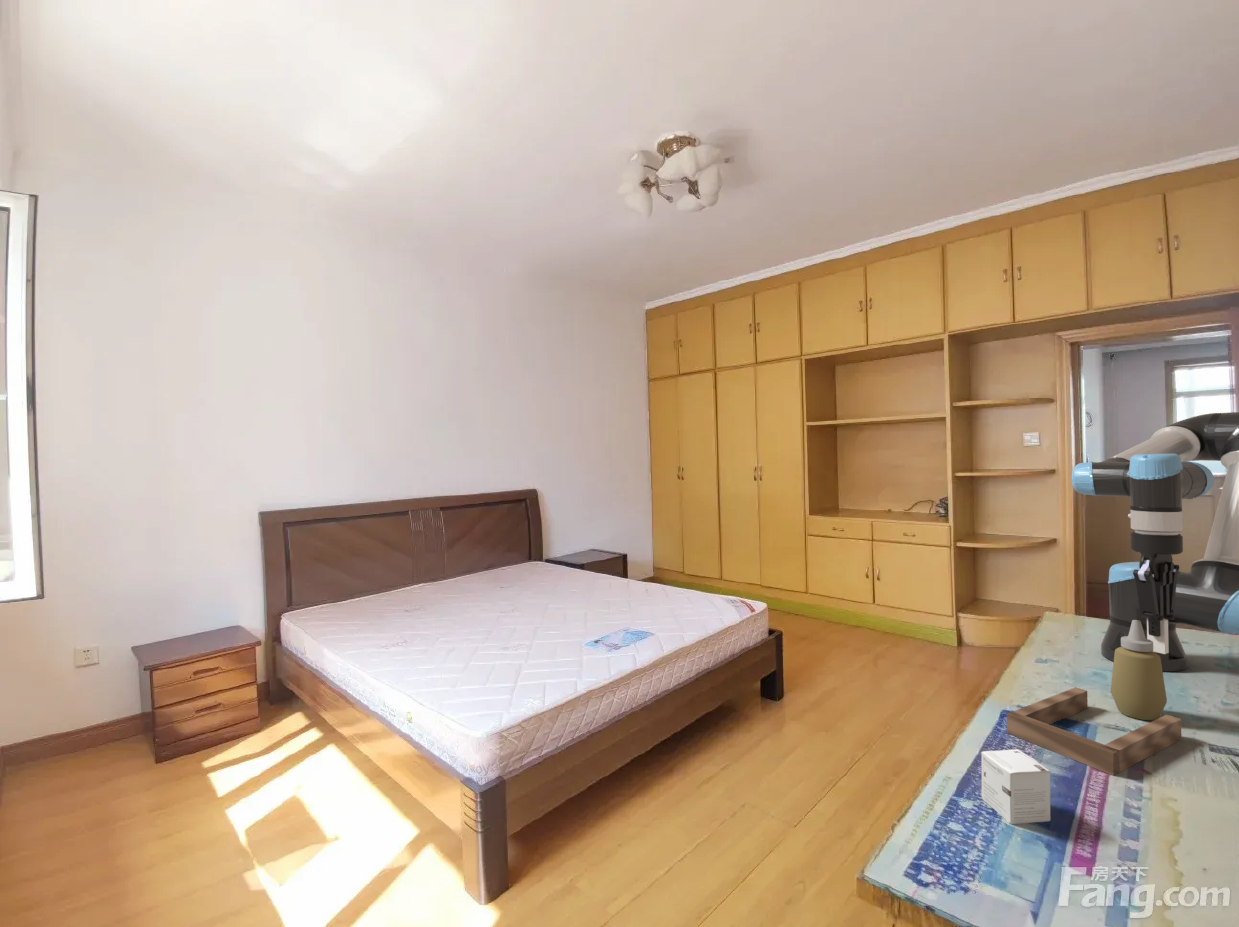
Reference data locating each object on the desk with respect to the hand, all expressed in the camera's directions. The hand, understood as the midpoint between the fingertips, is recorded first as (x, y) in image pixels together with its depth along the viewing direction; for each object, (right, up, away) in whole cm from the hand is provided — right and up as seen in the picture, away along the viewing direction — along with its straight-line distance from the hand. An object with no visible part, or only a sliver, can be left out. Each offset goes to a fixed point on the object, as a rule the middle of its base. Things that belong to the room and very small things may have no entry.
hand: (1157, 651), depth 114 cm
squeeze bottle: (-7, -11, -4) cm, 14 cm away
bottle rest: (-21, -12, -11) cm, 27 cm away
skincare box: (-49, -13, -31) cm, 59 cm away
